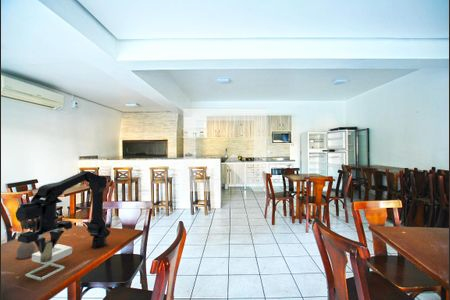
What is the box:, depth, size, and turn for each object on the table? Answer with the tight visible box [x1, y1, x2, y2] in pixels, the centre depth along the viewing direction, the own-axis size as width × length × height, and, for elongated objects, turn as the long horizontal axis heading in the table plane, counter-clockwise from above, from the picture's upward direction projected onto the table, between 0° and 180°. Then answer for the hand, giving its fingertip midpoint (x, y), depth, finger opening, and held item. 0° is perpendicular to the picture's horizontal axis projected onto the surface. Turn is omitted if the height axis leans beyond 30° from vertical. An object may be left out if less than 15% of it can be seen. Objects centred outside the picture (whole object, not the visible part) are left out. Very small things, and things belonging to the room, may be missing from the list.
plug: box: [40, 239, 53, 263], centre depth 96 cm, size 4×4×8 cm
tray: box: [24, 262, 66, 282], centre depth 96 cm, size 10×9×2 cm
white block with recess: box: [31, 243, 73, 265], centre depth 108 cm, size 12×10×4 cm
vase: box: [16, 242, 37, 260], centre depth 108 cm, size 7×7×9 cm
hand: (46, 250), depth 96 cm, fingers closed on plug, 4 cm apart
